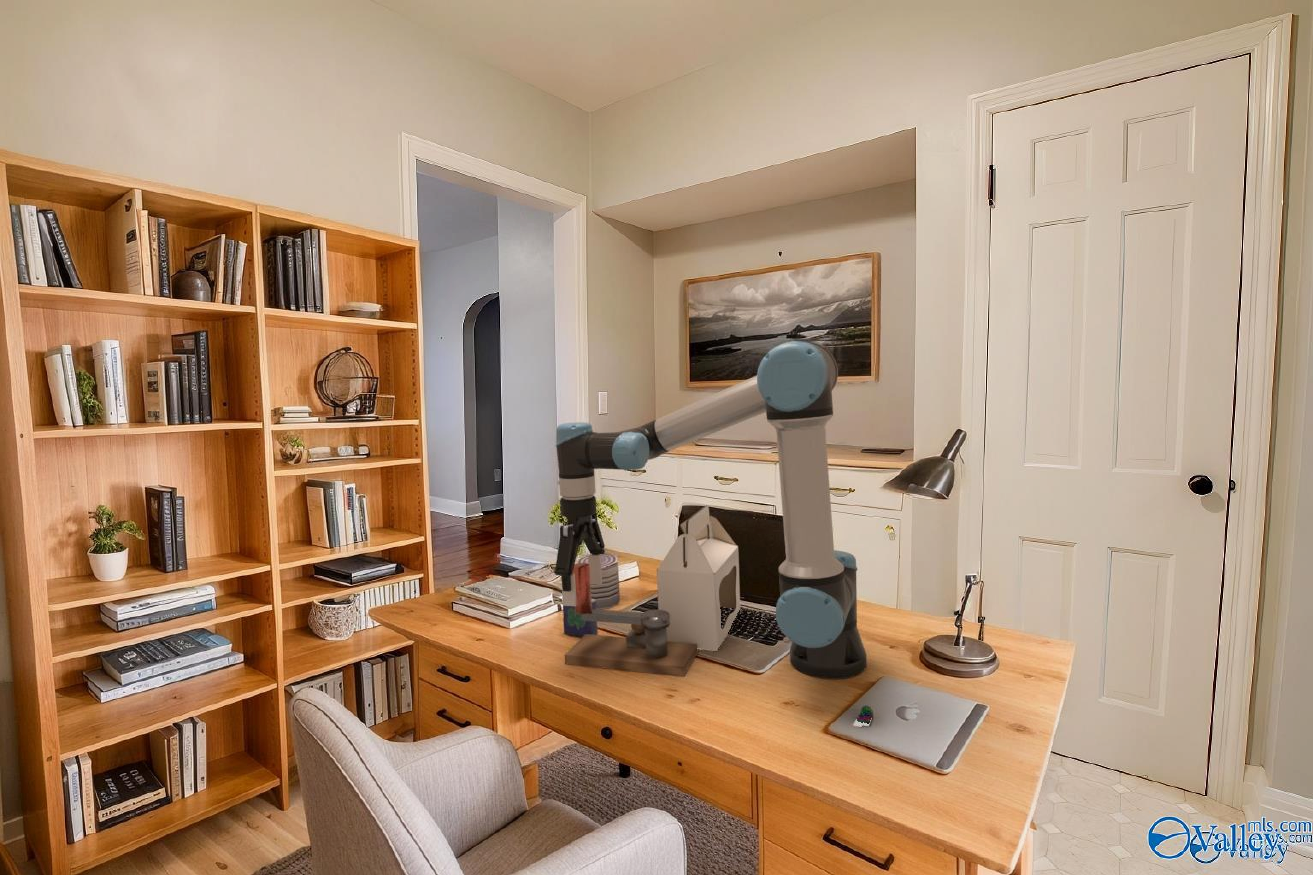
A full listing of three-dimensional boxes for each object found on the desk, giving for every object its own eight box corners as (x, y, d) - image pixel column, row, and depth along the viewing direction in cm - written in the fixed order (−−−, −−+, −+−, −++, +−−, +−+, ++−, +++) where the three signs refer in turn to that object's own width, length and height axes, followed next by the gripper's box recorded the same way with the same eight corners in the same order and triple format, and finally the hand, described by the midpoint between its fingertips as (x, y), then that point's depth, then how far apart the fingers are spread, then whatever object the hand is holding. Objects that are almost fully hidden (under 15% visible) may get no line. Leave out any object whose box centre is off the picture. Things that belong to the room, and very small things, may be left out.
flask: (600, 636, 152) (597, 591, 150) (593, 641, 149) (590, 595, 148) (568, 630, 156) (565, 586, 155) (560, 634, 154) (557, 590, 152)
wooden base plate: (697, 652, 140) (696, 616, 140) (684, 676, 130) (682, 637, 129) (586, 642, 148) (584, 607, 148) (565, 663, 138) (562, 626, 137)
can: (629, 600, 175) (627, 556, 173) (599, 613, 166) (597, 567, 165) (598, 592, 182) (596, 550, 180) (568, 604, 173) (566, 560, 172)
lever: (673, 619, 138) (670, 565, 136) (665, 631, 132) (663, 574, 131) (581, 613, 144) (578, 560, 142) (570, 623, 138) (567, 569, 137)
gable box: (689, 610, 166) (685, 501, 163) (740, 615, 161) (737, 503, 158) (659, 646, 145) (653, 522, 142) (717, 652, 140) (712, 525, 137)
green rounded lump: (856, 716, 114) (856, 703, 113) (873, 719, 112) (873, 706, 112) (850, 728, 110) (850, 714, 110) (867, 732, 109) (867, 718, 108)
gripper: (585, 485, 151) (590, 574, 153) (533, 508, 127) (540, 614, 129) (615, 485, 148) (620, 576, 151) (568, 509, 125) (574, 616, 127)
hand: (583, 594), depth 140 cm, fingers open, 13 cm apart
